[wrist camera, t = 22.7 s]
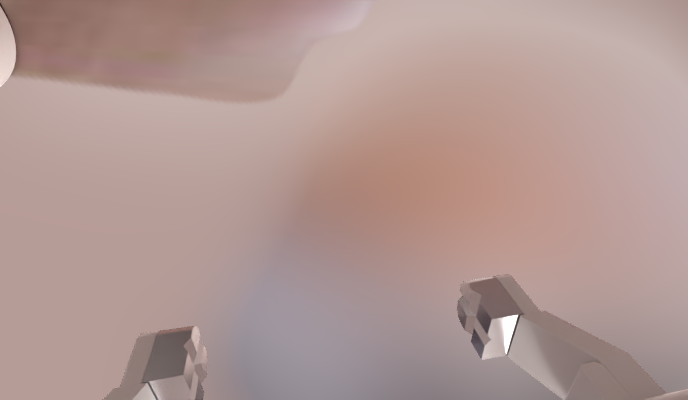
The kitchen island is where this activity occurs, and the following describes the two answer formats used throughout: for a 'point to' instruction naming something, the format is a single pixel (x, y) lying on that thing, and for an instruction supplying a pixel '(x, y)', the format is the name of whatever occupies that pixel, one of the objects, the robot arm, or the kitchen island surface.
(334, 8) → the kitchen island surface
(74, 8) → the kitchen island surface
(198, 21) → the kitchen island surface
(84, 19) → the kitchen island surface
